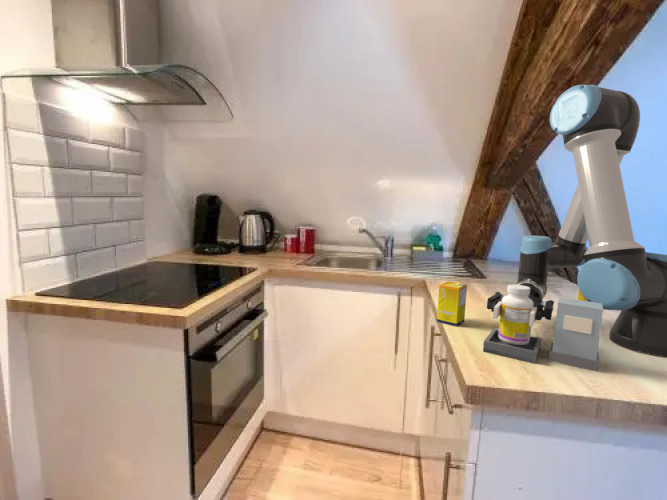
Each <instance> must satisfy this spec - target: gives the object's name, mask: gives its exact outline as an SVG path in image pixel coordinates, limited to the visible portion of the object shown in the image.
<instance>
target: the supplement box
mask: <svg viewBox="0 0 667 500" xmlns="http://www.w3.org/2000/svg"><path fill="white" fill-rule="evenodd" d="M438 285H439V287H438V298H437V299H438V301H437V314H436V322H437V323H441V324H446V325H448V326H453V327H458V326H460V325H461V324H463V323H465V316H466V314H465V313H466V302H467V301H466V300H467V290H468V289H467V288H468V285H467V284H465V283H459V282H455V281H446V282H443V283H442V282H441V283H440V284H438Z"/></svg>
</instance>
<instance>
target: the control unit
mask: <svg viewBox="0 0 667 500" xmlns="http://www.w3.org/2000/svg"><path fill="white" fill-rule="evenodd" d="M603 312H604V309H603V306H602V303H595V302H588V301H582V300H576V299H573V298H566V297H560V296H559V298H558V302H557V307H556V317H555V326H554V332H553V333H554V334H553V342H551V344H550V348H549V352H548V353H549V355H548V361H550V362H554V363H559V364H562V365H568V366H572V367H577V368H581V369H585V370H589V369H590V370H589V371H593V370H595V371H594V372H599V369H600V368H599V366H600V356H599V351H598V350H599V343H600V337H601V327H602V322H603V321H602V320H603Z"/></svg>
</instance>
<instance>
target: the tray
mask: <svg viewBox="0 0 667 500" xmlns="http://www.w3.org/2000/svg"><path fill="white" fill-rule="evenodd" d="M498 335H499V328H498V329H496V328H493V329H492V330H491V331H490V333H488V335H487V337H486V338H485V339H484V341H483V349H482V351H483V352H484V353H488V354H491V355H497V356H501V357H506V358H510V359H514V360H518V361H523V362H526V363H530V364H535V365H536V364H537V361H538V358H539V356H540V352H541V349H542V341H543V338H542V337H537V336H532V335H530V341H529V343H528V344H525V345H514V344H510V343H506V342H504V341H502V340H501V339H500V338H499V336H498Z"/></svg>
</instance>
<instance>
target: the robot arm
mask: <svg viewBox="0 0 667 500" xmlns="http://www.w3.org/2000/svg"><path fill="white" fill-rule="evenodd" d="M640 121H641V111H640V107H639V104H638V102H637V100H636V99H635V97H633V96H632V95H631V94H629V93H627V92H624V91H620V90H614V89H610V88H606V87H600V86H598V85H596V84H577V85H574V86H571V87H569V88H568V89H566V90H565V91H564V92H563V93H561V95H559V96H558V97H557V99H556V101H555V103H554V104H553V105H552V107H551V110H550V113H549V124H550V127H551V129H552V131H554V132H556V134H558V135H562V139H563V140H562V141H563V145H564V149H565V150H566V151H568V152H570V153H572V154H573V160H574V167H575V171H576V177H577V182H578V184H577V185H576V188H575V191H574V193H573V196H572V199H571V201H570V203H569V206H568V208H567V209H568V210H567V212H566V215H565V217H564V220H563V222H562V224H561V228H560V230H559V233H558V236H557V238H556V241H555V242H552V238H551V237H549V236H546V235H531V234H529V235H524V236H523V237H522V239H521V245H520V248H519V251H520V254H519V262H518V263H519V264H518V274H517V282H516V285H523V286H527V287H530V293H529V296H528V297H529V298H530V299H531V300H532V301H533V304H534V305H533V309H532V311H531V313H530V319H529V326H531V327H534V325H535V322H536V321H541V320H542V319H543V318H544V319H545V320H547V321H551V320H552V315H553V311H554V305H555V301H554V300H552V299H551V300H550V299H549V300H544V298H545V297H546V295H547V291H548V286H547V285H548V284H547V282H548V275H549V269H561V268H563V269H564V268H566V269H572V268H573V269H574V268H576V267H580V270H578V273H577V278H576V279H577V281H576V283H577V288H578V287H579V289H580V292H581V293H582V295H583V296H584V297H585V299H586V300H587V301H589V302H595V303H602V306H603V310H608V311H611V310H612V311H620V313H618V316H617V318H616V320H615V321H614V323H613V325H612V326H611V327H610V331H609V335H608V337H609V340H610V342H612V343H614V344H617V345H618V346H620V347H623V348H625V349H628V350H631V351H635V352H639V353H642V352H643V354H647V353H649V354H648V355H652V354H654V355H653V356H657V355H661V356H660V357H667V254H662V253H656V252H649V251H647V252H646V249H645V246H643V245H642V244H640V243H638V242H636V240H635V237H634V232H633V227H632V222H631V218H630V217H631V216H630V211H629V206H628V202H627V201H628V200H627V197H626V192H625V191H626V190H625V186H624V181H623V178H622V177H623V176H622V172H621V167H620V165H621V163H622V160H623V158H624V156H626V155H628V154H629V153H631V151H632V149H633V145H634V144H635V142H636V138H637V135H638V132H639V127H640ZM587 243H588V244H589V247H587ZM506 295H508V293H507V294H506ZM504 296H505V295H504V294H503V293H501V292H499V291H496V292H495V293H494V294H493V295H491V296H490V297H488V298H487V300H486V301H487V302H486V309H487V310H490V311H491V313H493V315H492V319H493V320H497V319H498V318H500V313H501V302H502V298H503V297H504ZM543 300H544V301H543Z"/></svg>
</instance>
